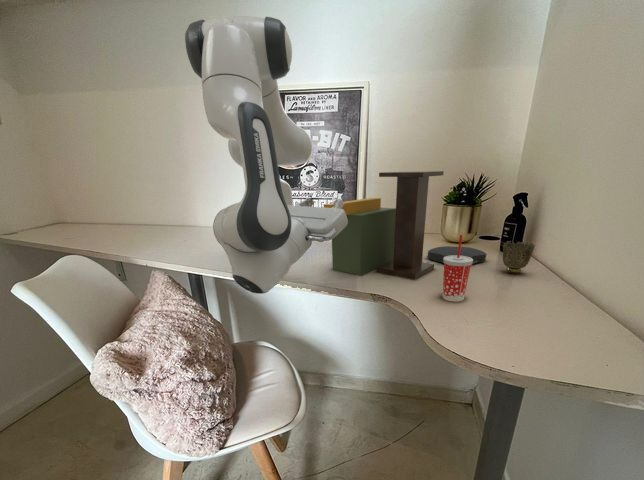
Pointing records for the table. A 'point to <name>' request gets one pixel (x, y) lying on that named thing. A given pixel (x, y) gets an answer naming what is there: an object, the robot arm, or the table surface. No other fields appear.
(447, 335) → the table surface
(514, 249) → the cup
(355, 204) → the wooden bar
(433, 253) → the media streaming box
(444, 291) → the beverage cup
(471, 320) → the table surface
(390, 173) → the shelf stand
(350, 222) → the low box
